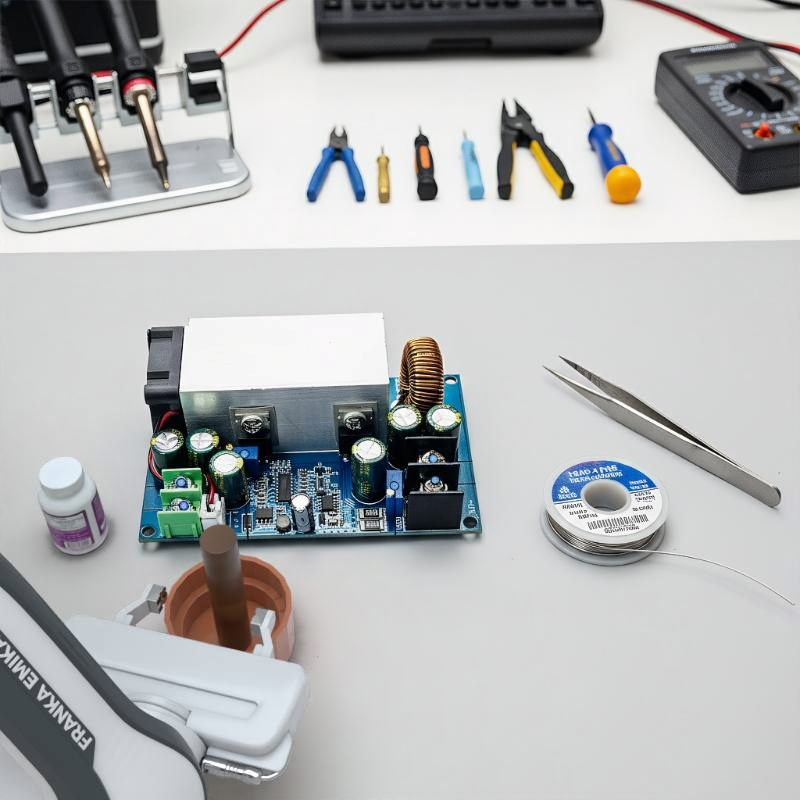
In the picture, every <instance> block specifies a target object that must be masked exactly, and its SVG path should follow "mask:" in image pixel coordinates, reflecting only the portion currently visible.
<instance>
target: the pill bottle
mask: <svg viewBox="0 0 800 800" xmlns="http://www.w3.org/2000/svg"><path fill="white" fill-rule="evenodd" d="M38 481H39V484H40V486H39V489H38V491H37V492H38V493H37V499H38V504H39V506H40V509H41V512H42V514H43V517H44V520H45V522H46V525H47V528H48V530H49V533H50V535H51V538H52V541H53V543H54V545H55V546H56V548H57V549H58V550H60V551H61V552H63V553H64V554H68V555H71V556H72V555H74V556H77V555H83V554H84V555H85V554H86V553H87V554H88V553H90V552H92V551H94V550H96V549H97V548H99V547H100V546H101V545H102V544H103V543H104V542H105V540H106V538H107V536H108V534H109V533H108V532H109V523H108V521H107V517H106V514H105V510H104V506H103V504H102V501H101V497H100V493H99V491H98V488H97V487H98V486H97V484H96V482H95V480H94V478H93V477H92V475H90V474H89V473H88V472H87V471H86V472H85V471H84V467H83V465H82V463H81V462H80V461H79V460H78V459H76V458H74V457H71V456H60V457H55V458H52V459H50V460H49V461H47V462H46V463H44V465H43V466H41V468H40V470H39V472H38Z"/></svg>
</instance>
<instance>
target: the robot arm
mask: <svg viewBox="0 0 800 800" xmlns="http://www.w3.org/2000/svg"><path fill="white" fill-rule="evenodd" d="M168 595H169V593H168V591H167V587H166V586H164V585H159V584H156V583H152V582H151V583H150V582H148V583H147V584H146V586H145V588H144V590H143V592H142V594H141V596H140V597H137V598H136V599H135V600H133V601H132V602H130V603H128V605H126V606H124V607H123V608H121V609H120V610H118V611H117V613H116V615H115V617H114V619H113V620H109V619H104V618H100V617H96V616H91V615H87V614H83V613H77V614H75V615H73V616H71V617H69V618H68V619H65V621H62V619H61V618H60V617H59V616H58V614H56V612H55V611H54V610H53V609H52V607H51V606H50V605H49V604H48V603H47V602H46V601H45V599H44V598H43V597H42V595H40V594H39V592H38V591H37V590H36V589H35V588H34V587H33V586H32V584H31V583H30V582H29V581H28V580H27V579H26V578H25V577H24V575H23V574H22V573H21V572H20V571H19V570H18V569H17V568H16V567H15V566H14V564H13V563H11V561H9V559H7V557H6V556H4V555H3V554H2V552H0V800H209V798H208V797H209V796H208V790H207V785H206V781H205V778H204V774H207V775H212V776H216V777H219V778H226V779H233V780H238V781H241V782H242V783H243V784H247V785H253V786H259V785H260V784H261V783H262V782H269V781H272V780H275V779H277V778H278V777H280V776H282V775H283V774H284V773H285V771H286V769H287V767H288V766H289V762H290V760H291V756H292V753H293V750H294V738H293V736H294V734H295V732H296V730H297V728H298V727H299V724H300V722H301V720H302V717H303V715H304V712H305V710H306V708H307V706H308V704H309V703H308V702H309V699H310V694H311V693H310V692H311V690H310V679H309V677H308V675H307V673H306V671H305V669H304V667H303V666H302V665H301V664H298V663H295V662H291V661H282V660H278V659H275V657H274V649H273V644H272V640H271V632H272V630H273V627H274V624H275V619H276V618H275V611H272V610H268V609H263V608H258V607H257V608H256V610H255V615H254V616H253V617H252V620H251V622H250V625H251V628H252V630H251V632H252V635H253V636H257V637H261V639H262V644H263V646H262V645H260V644H257V645H256V646H255V649H254V651H253V653H248V652H243V651H239V650H235V649H230V648H226V647H222V646H217V645H213V644H209V643H204V642H200V641H196V640H191V639H187V638H183V637H178V636H174V635H170V634H167V633H164V632H160V631H156V630H153V629H149V628H148V629H147V628H143V627H138V626H137V624H138V623H140V622H141V621H142V620H143V619H145V618H146V617H147V616H148V615H150V614H151V613H153V614H156V615H160V614H161V613H162V612H163V611H162V610H163V609H164V606H163V605H165V602H166V600H167V597H168ZM203 773H204V774H203Z"/></svg>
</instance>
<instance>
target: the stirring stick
mask: <svg viewBox="0 0 800 800" xmlns="http://www.w3.org/2000/svg"><path fill="white" fill-rule="evenodd" d="M199 547H200V553H201V557H202V558H201V559H202V561H203V563H204V568H205V574H206V579H207V584H208V589H209V595H210V600H211V605H212V611H213V616H214V621H215V626H216V632H217V637H218V642H219V646H222V647H226V648H230V649H235V650H239V651H245V650H246V649H247V648H248V647H249V645H250V643H251V640H252V636H251V629H250V622H249V615H248V608H247V601H246V595H245V588H244V581H243V574H242V567H241V560H240V555H241V553H240V548H239V540H238V533H237V532H236V531H235V529H234V528H232V527H231V526H229V525H227V524H221V523H220V524H214V525H210V526H209V527H207V528H205V529H204V531H202V532H201V534H200V537H199Z"/></svg>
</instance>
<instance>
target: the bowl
mask: <svg viewBox="0 0 800 800" xmlns="http://www.w3.org/2000/svg"><path fill="white" fill-rule="evenodd" d="M240 560H241V567H242V574H243V581H244V588H245V595H246V601H247V608H248V615H249V622H251V620H252V617H253V616H254V615H255V610H256V608H257V607H258V608H263V609H268V610H272V611H275V618H276V619H275V624H274V627H273V630H272V632H271V640H272V644H273V649H274V657H275V659H278V660H282V661H287V662H289V660H290V658H291V655H292V652H293V649H294V645H295V643H296V642H295V641H296V637H295V634H296V633H295V622H294V609H293V599H292V591H291V589H290V587H289V585H288V582H287V580H286V578H285V577H284V575H283V574H282V573H281V572H279V570H278V569H277V568H275V566H274V565H272V564H271V563H268V562H266V561H264V560H262V559H260V558H258V557H255V556H250V555H244V554H240ZM163 613H164V616H163V622H164V625H165V629H166V634H170V635H174V636H178V637H183V638H187V639H191V640H196V641H200V642H204V643H209V644H213V645H217V646H219V642H218V637H217V632H216V626H215V621H214V616H213V611H212V605H211V600H210V595H209V589H208V584H207V579H206V574H205V568H204V563H203V560H202V561H200V562H198V563H197V564H195V565H193V566H192V567H191V568H189V569H188V570H186V571H185V572H183V573H182V575H181V576H180V577H179V578H178V579H177V580H176V581H175V583H174V584H173V585H172V586H171V588H170V590H169V592H168V597H167V600H166V602H165V604H164V612H163ZM250 629H251V630H252V628H251V625H250ZM251 636H252V640H251V643H250V645H249V647H248V648H247V649H246V650H245V651H243V652H248V653H253V651H254V649H255V646H256V645H257V644H260V645H262V646H263V644H262V639H261V637H257V636H253V635H252V632H251Z"/></svg>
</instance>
